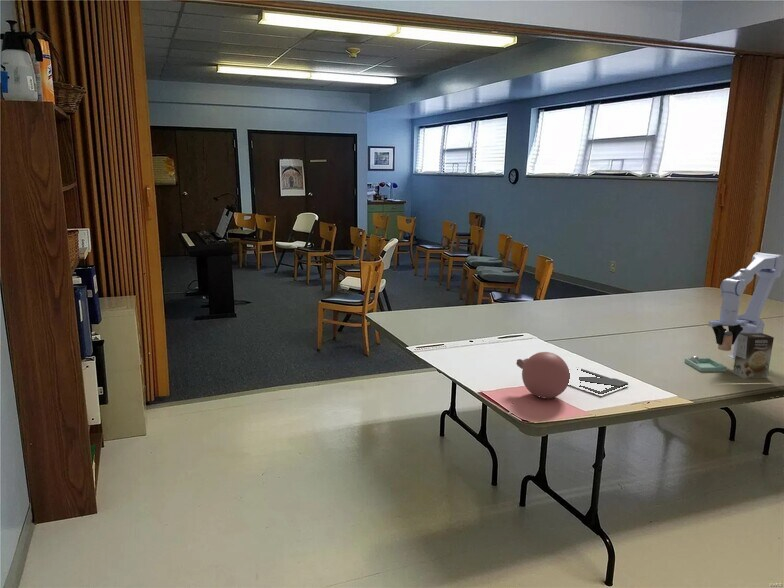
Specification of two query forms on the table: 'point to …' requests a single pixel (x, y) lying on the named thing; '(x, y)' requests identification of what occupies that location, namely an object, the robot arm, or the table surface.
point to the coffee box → (753, 355)
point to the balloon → (544, 374)
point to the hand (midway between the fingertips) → (725, 344)
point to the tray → (706, 365)
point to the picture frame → (602, 382)
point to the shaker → (726, 341)
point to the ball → (694, 359)
